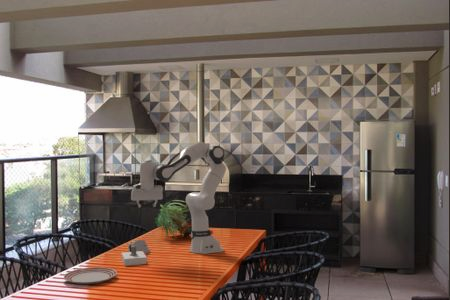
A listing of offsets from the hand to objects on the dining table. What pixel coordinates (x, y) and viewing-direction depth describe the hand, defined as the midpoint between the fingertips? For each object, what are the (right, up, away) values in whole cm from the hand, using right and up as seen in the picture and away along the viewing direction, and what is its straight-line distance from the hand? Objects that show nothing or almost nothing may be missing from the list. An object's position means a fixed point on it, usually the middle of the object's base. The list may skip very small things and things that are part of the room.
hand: (147, 207), depth 319 cm
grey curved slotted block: (-6, -32, +5) cm, 32 cm away
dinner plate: (-21, -33, -55) cm, 68 cm away
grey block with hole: (-6, -31, -16) cm, 36 cm away
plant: (+12, -31, +57) cm, 66 cm away
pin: (-6, -31, -16) cm, 36 cm away
